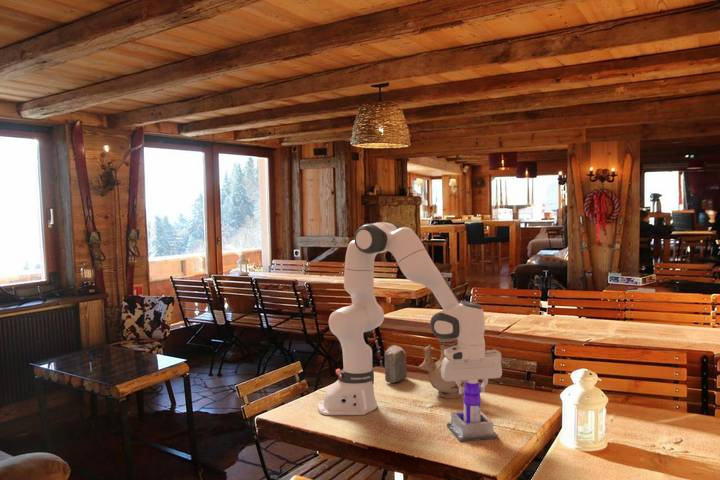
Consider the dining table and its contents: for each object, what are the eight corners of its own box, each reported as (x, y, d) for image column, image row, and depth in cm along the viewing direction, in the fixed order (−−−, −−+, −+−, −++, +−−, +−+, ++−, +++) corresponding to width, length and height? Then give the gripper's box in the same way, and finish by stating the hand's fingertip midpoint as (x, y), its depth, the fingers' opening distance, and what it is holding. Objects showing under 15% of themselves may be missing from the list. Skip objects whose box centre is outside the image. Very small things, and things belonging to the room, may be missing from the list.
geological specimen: (395, 385, 235) (395, 350, 234) (383, 383, 238) (382, 348, 238) (407, 378, 244) (407, 345, 243) (395, 376, 247) (394, 343, 247)
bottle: (481, 434, 180) (481, 381, 179) (463, 433, 180) (463, 380, 180) (480, 426, 187) (480, 375, 186) (463, 425, 188) (463, 374, 187)
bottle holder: (459, 441, 177) (459, 426, 176) (446, 426, 189) (446, 412, 189) (498, 438, 179) (498, 423, 178) (482, 423, 192) (482, 409, 191)
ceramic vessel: (444, 385, 234) (444, 326, 233) (483, 394, 221) (483, 333, 220) (417, 395, 221) (416, 334, 220) (457, 407, 208) (456, 341, 207)
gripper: (497, 347, 187) (497, 387, 188) (439, 350, 184) (439, 391, 185) (505, 351, 181) (505, 393, 182) (445, 355, 178) (445, 397, 178)
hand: (471, 392), depth 183 cm, fingers open, 6 cm apart
